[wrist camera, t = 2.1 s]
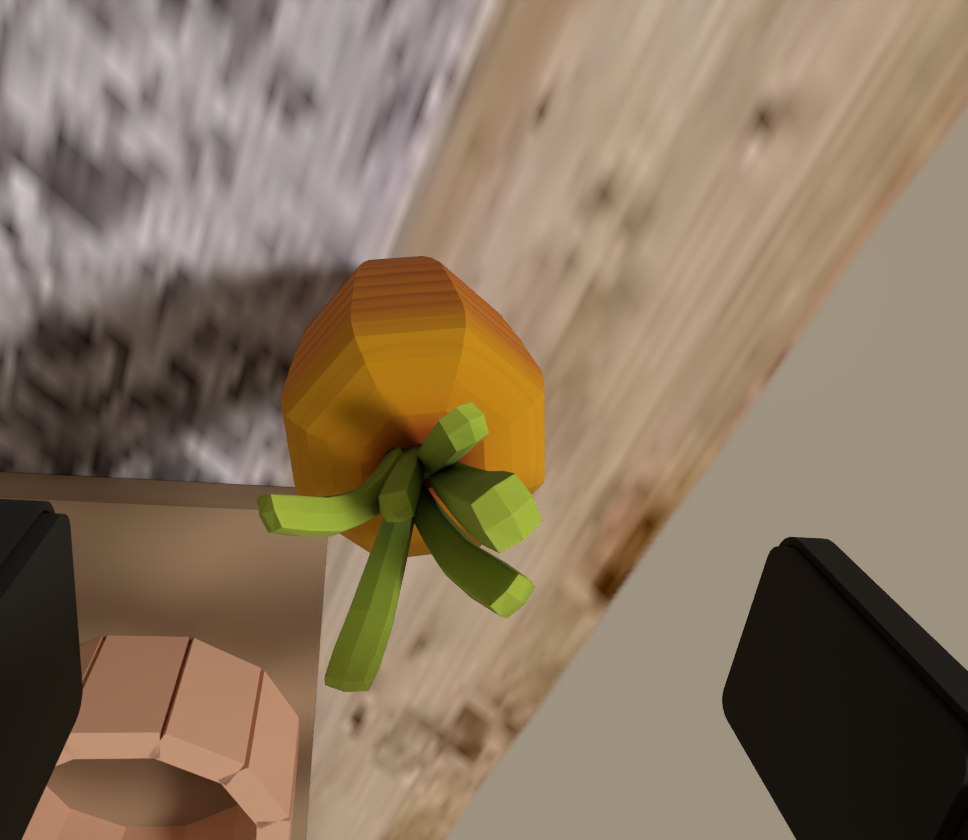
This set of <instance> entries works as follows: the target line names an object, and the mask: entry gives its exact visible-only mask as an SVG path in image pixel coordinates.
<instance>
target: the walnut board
mask: <svg viewBox="0 0 968 840" xmlns="http://www.w3.org/2000/svg"><path fill="white" fill-rule="evenodd" d="M269 494H275V495H296V489H295V488H293V487H274V486H256V485H237V484H218V483H200V482H181V481H162V480H144V479H125V478H106V477H87V476H69V475H50V474H31V473H13V472H0V499H16V500H37V501H49V502H50V503H51V504H52V506H53V508H54V511H55V513H59V514H66V515H67V516H68V518H69V520H70V526H71V539H72V552H73V566H74V579H75V592H76V605H77V618H78V632H79V645H80V646H81V645H83V644H85V643H88V642H90V641H93V640H95V639H97V638H100V637H103V638H104V640H106V638H107V636H167V637H189V644H190V643H191V641H192V640H193V639H194V638H195V639H197V640H200V641H202V642H204V643H206V644H209V645H211V646H213V647H215V648H217V649H220V650H222V651H224V652H226V653H229V654H231V655H233V656H235V657H238V658H240V659H242V660H244V661H246V662H249V663H251V664H253V665H255V666H258V667H260V668H261V670H260V672H263V671H265V672H266V674H267V675H268V676H269V678H270V679H271V680H272V682H273V683H274V684H275V686H276V687H277V689H278V690H279V691H280V693H281V694H282V695H283V697H284V698H285V699H286V701H287V702H288V704H289V705H290V706H291V708H292V709H293V710H294V712H295V713H296V715H297V716H298V717H299V721H300V728H299V745H298V761H297V775H296V785H295V796H294V806H293V817H292V827H291V838H290V840H306V829H307V815H308V801H309V787H310V773H311V760H312V746H313V732H314V718H315V704H316V690H317V677H318V663H319V649H320V635H321V621H322V607H323V594H324V580H325V566H326V552H327V538H328V536H288V535H281V534H274V533H268V532H267V530H266V528H265V526H264V524H263V522H262V520H261V518H260V516H259V510H258V504H257V500H258V498H259V497H260V496H262V495H269ZM47 787H48V788H49V789H50V790H51V791H52V792H53V793H55V794H56V795H57V796H58V797H59V798H60V799H61V800H62V801H63V802H64V803H65V804H66V805H67V806H68V807H69V808H70V809H73V810H76V811H79V812H82V813H85V814H88V815H91V816H94V817H97V818H100V819H103V820H106V821H109V822H112V823H115V824H118V825H121V826H124V827H154V826H187V825H189V824H192V823H194V822H197V821H199V820H202V819H204V818H206V817H209V816H211V815H214V814H216V813H219V812H221V811H223V810H226V809H228V808H231V807H233V806H236V805H238V803H237V802H236V801H235V799H234V798H233V797H232V796H231V795H230V794H229V792H228V791H227V790H226V789H225V788H224V787H223V785H222V784H221V783H218V782H215V781H213V780H210V779H207V778H205V777H202V776H199V775H197V774H194V773H192V772H189V771H186V770H184V769H181V768H178V767H176V766H173V765H170V764H168V763H165V762H162V761H160V760H157V759H154V758H134V759H72V760H70V761H68V762H65V763H63V764H60V765H58V766H56V767H55V768H54V770H53V773H52V775H51V777H50V779H49V781H48V783H47Z"/></svg>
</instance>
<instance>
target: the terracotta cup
mask: <svg viewBox="0 0 968 840" xmlns="http://www.w3.org/2000/svg"><path fill="white" fill-rule="evenodd" d="M80 658H81V671H82V685H83V693H82V702H81V707H80V711H79V715H78V717H77V720H76V722H75V725H74V727H73V729H72V731H71V733H70V735H69V738H68V740H67V742H66V744H65V746H64V749H63V751H62V753H61V755H60V757H59V759H58V762H57V764H56V766H58V765H60V764H63V763H65V762H68V761H70V760H72V759H134V758H154V759H157V760H160V761H162V762H165V763H168V764H170V765H173V766H176V767H178V768H181V769H184V770H186V771H189V772H192V773H194V774H197V775H199V776H202V777H205V778H207V779H210V780H213V781H215V782H218V783H221V784H222V785H223V787H224V788H225V789H226V790H227V791H228V792H229V794H230V795H231V796H232V797H233V798H234V799H235V801H236V802H237V803H238V805H236V806H233V807H231V808H228V809H226V810H223V811H221V812H219V813H216V814H214V815H211V816H209V817H206V818H204V819H202V820H199V821H197V822H194V823H192V824H189V825H187V826H154V827H124V826H121V825H118V824H115V823H112V822H109V821H106V820H103V819H100V818H97V817H94V816H91V815H88V814H85V813H82V812H79V811H76V810H73V809H70V808H69V807H68V806H67V805H66V804H65V803H64V802H63V801H62V800H61V799H60V798H59V797H58V796H57V795H56V794H55V793H53V792H52V791H51V790H50V789H49V788H48V787H47V786H46V788H45V790H44V792H43V794H42V797H41V799H40V801H39V803H38V805H37V807H36V810H35V812H34V814H33V816H32V818H31V821H30V823H29V825H28V827H27V829H26V831H25V834H24V836H23V838H22V840H290V838H291V827H292V817H293V806H294V796H295V785H296V775H297V761H298V745H299V728H300V721H299V717H298V716H297V715H296V713H295V712H294V710H293V709H292V708H291V706H290V705H289V704H288V702H287V701H286V699H285V698H284V697H283V695H282V694H281V693H280V691H279V690H278V689H277V687H276V686H275V684H274V683H273V682H272V680H271V679H270V678H269V676H268V675H267V674H266V672H265V671H263V672H260V670H261V668H260V667H258V666H255V665H253V664H251V663H249V662H246V661H244V660H242V659H240V658H238V657H235V656H233V655H231V654H229V653H226V652H224V651H222V650H220V649H217V648H215V647H213V646H211V645H209V644H206V643H204V642H202V641H200V640H197V639H195V638H194V639H193V640H192V641H191V643H190V644H189V637H167V636H107V638H106V640H104V638H103V637H100V638H97V639H95V640H93V641H90V642H88V643H85V644H83V645H81V646H80ZM56 766H55V767H56Z"/></svg>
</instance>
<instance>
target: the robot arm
mask: <svg viewBox="0 0 968 840" xmlns="http://www.w3.org/2000/svg"><path fill="white" fill-rule="evenodd" d="M82 693H83V685H82V671H81V658H80V645H79V632H78V618H77V605H76V592H75V579H74V566H73V552H72V539H71V526H70V520H69V518H68V516H67V515H66V514H59V513H55V511H54V508H53V506H52V504H51V503H50V502H49V501H37V500H16V499H0V840H22V838H23V836H24V834H25V831H26V829H27V827H28V825H29V823H30V821H31V818H32V816H33V814H34V812H35V810H36V807H37V805H38V803H39V801H40V799H41V797H42V794H43V792H44V790H45V788H46V786H47V783H48V781H49V779H50V777H51V775H52V773H53V770H54V768H55V766H56V764H57V762H58V759H59V757H60V755H61V753H62V751H63V749H64V746H65V744H66V742H67V740H68V738H69V735H70V733H71V731H72V729H73V727H74V725H75V722H76V720H77V717H78V715H79V711H80V707H81V702H82ZM722 704H723V710H724V714H725V716H726V719H727V721H728V722H729V724H730V726H731V728H732V729H733V731H734V732H735V734H736V736H737V738H738V740H739V741H740V743H741V745H742V747H743V748H744V750H745V752H746V754H747V755H748V757H749V758H750V760H751V762H752V764H753V765H754V767H755V769H756V771H757V772H758V774H759V776H760V778H761V779H762V781H763V783H764V785H765V786H766V788H767V790H768V791H769V793H770V795H771V797H772V798H773V800H774V802H775V803H776V805H777V807H778V809H779V810H780V812H781V814H782V816H783V817H784V819H785V821H786V823H787V824H788V826H789V828H790V829H791V831H792V833H793V835H794V836H795V838H796V840H968V671H967V670H966V669H965V668H964V667H963V666H962V665H961V664H960V663H959V662H958V661H956V660H955V659H954V658H953V657H952V656H951V655H950V654H949V653H948V652H947V651H946V650H945V649H944V648H943V647H942V646H941V645H940V644H939V643H938V642H937V641H936V640H935V639H933V637H931V636H930V635H929V634H928V633H927V632H926V631H925V630H924V629H923V628H922V627H921V626H920V625H919V624H918V623H917V622H916V621H915V620H914V619H913V618H912V617H910V616H909V614H907V613H906V612H905V611H904V610H903V609H902V608H901V607H900V606H899V605H898V604H897V603H896V602H895V601H894V600H893V599H892V598H891V597H890V596H889V595H887V593H886V592H884V591H883V590H882V589H881V588H880V587H879V586H878V585H877V584H876V583H875V582H874V581H873V580H872V579H871V578H870V577H869V576H868V575H867V574H866V573H865V572H864V571H863V570H861V569H860V568H859V567H858V566H857V565H856V564H855V563H854V562H853V561H852V560H851V559H850V558H849V557H848V556H847V555H846V554H845V553H844V552H843V551H841V549H839V547H837V546H836V545H835V544H834V543H833V542H832V541H830V540H828V539H822V538H801V537H800V538H799V537H789V538H786V539H784V540H783V541H782V542H781V543H780V545H779V546H777V547H774V548H773V549H772V550H771V551H770V553H769V555H768V557H767V560H766V563H765V566H764V569H763V572H762V575H761V578H760V581H759V584H758V588H757V590H756V594H755V596H754V600H753V602H752V606H751V609H750V612H749V615H748V618H747V621H746V624H745V627H744V630H743V633H742V636H741V639H740V642H739V645H738V648H737V651H736V654H735V657H734V660H733V663H732V666H731V669H730V672H729V675H728V678H727V681H726V684H725V687H724V691H723V696H722Z"/></svg>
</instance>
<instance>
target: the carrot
mask: <svg viewBox="0 0 968 840" xmlns="http://www.w3.org/2000/svg"><path fill="white" fill-rule="evenodd" d="M281 406H282V412H283V418H284V424H285V430H286V436H287V442H288V448H289V454H290V459H291V465H292V471H293V477H294V483H295V489H296V495H275V494H269V495H262V496H260V497H259V498H258V500H257V504H258V510H259V516H260V518H261V520H262V522H263V524H264V526H265V528H266V530H267V532H268V533H274V534H281V535H288V536H333V535H336V534H338V533H340V534H341V535H343V536H345V537H346V538H348V539H349V540H351V541H352V542H354V543H356V544H357V545H359V546H360V547H362V548H363V549H365V550H366V551H368V552H370V555H369V558H368V561H367V564H366V566H365V569H364V572H363V574H362V577H361V580H360V582H359V585H358V588H357V591H356V593H355V596H354V599H353V601H352V604H351V607H350V610H349V612H348V615H347V617H346V620H345V622H344V625H343V627H342V630H341V632H340V635H339V637H338V640H337V642H336V645H335V647H334V650H333V653H332V656H331V659H330V662H329V665H328V668H327V671H326V674H325V685H327V686H329V687H332V688H335V689H338V690H341V691H344V692H355V691H369V689H370V687H371V685H372V683H373V680H374V678H375V676H376V674H377V672H378V670H379V667H380V664H381V661H382V658H383V655H384V652H385V649H386V646H387V643H388V639H389V636H390V633H391V630H392V626H393V622H394V617H395V612H396V608H397V603H398V599H399V594H400V589H401V585H402V580H403V575H404V571H405V566H406V562H407V557H411V556H420V555H428V554H432V555H433V557H434V558H435V560H436V562H437V563H438V565H439V566H440V568H441V569H442V570H443V572H444V573H445V574H446V576H447V577H449V578H450V579H451V580H452V581H453V582H454V583H455V584H456V585H457V586H459V587H460V588H461V589H462V590H463V591H464V592H465V593H466V594H467V595H469V596H470V597H471V598H472V599H474V600H475V601H477V602H478V603H480V604H482V605H483V606H485V607H486V608H488V609H490V610H491V611H493V612H494V613H496V614H498V615H499V616H502V617H505V618H508V617H510V616H511V615H512V614H513V613H515V612H516V611H517V610H518V609H520V608H521V607H522V606H523V605H524V604H525V603H526V601H527V600H528V598H529V596H530V595H531V593H532V591H533V590H534V588H535V586H534V585H533V583H532V581H531V580H529V579H528V578H527V577H525V576H524V575H522V574H521V573H520V572H518V571H517V570H515V569H514V568H513V567H511V566H510V565H508V564H507V563H505V562H504V561H502V560H500V559H498V558H497V557H495V556H493V555H492V554H490V553H488V552H486V551H485V550H483V549H481V548H480V546H481V545H484V546H486V547H488V548H490V549H492V550H494V551H496V552H498V553H500V552H502V551H504V550H506V549H508V548H510V547H512V546H514V545H516V544H517V543H519V542H521V541H523V540H525V539H526V538H527V537H528V536H529V535H530V533H531V532H532V531H533V530H534V529H535V528H536V527H537V526H538V525H539V524H540V523H541V522H542V518H541V516H540V513H539V511H538V508H537V506H536V503H535V500H534V498H533V496H532V494H533V493H534V492H535V491H536V490H537V489H538V488H539V487H540V486H541V485H542V484H543V483H544V476H545V418H544V378H543V375H542V371H541V370H540V368H539V367H538V365H537V364H536V362H535V361H534V359H533V358H532V356H531V355H530V353H529V352H528V350H527V349H526V348H525V346H524V345H523V343H522V342H521V340H520V339H519V337H518V336H517V335H516V334H515V332H514V331H513V330H512V329H511V327H510V326H509V325H508V324H507V322H506V321H505V320H504V319H503V317H502V316H501V315H500V314H499V313H498V312H497V311H496V310H495V309H493V308H492V307H491V306H490V305H489V304H488V303H486V302H485V301H484V300H483V299H482V298H481V297H480V296H478V295H477V294H476V293H475V292H474V291H473V290H471V289H470V288H469V287H468V286H467V285H466V284H465V283H463V282H462V281H461V280H460V279H459V278H458V277H456V276H455V275H454V274H453V273H452V272H451V271H450V270H448V269H447V268H446V267H445V266H444V265H443V264H441V263H440V262H438V261H436V260H434V259H433V258H430V257H424V256H418V257H405V258H391V259H377V260H368V261H366V262H363V263H362V264H361V265H360V266H359V267H358V268H357V269H356V271H355V272H354V273H353V274H352V275H351V277H350V278H349V279H348V280H347V281H346V282H345V284H344V285H343V286H342V287H341V288H340V290H339V291H338V292H337V293H336V294H335V295H334V297H333V298H332V299H331V300H330V301H329V303H328V304H327V305H326V306H325V307H324V309H323V310H322V311H321V312H320V313H319V314H318V316H317V317H316V318H315V319H314V320H313V322H312V323H311V324H310V325H309V326H308V328H307V329H306V330H305V332H304V334H303V337H302V339H301V341H300V344H299V346H298V348H297V351H296V353H295V355H294V358H293V361H292V364H291V367H290V370H289V373H288V376H287V379H286V382H285V385H284V388H283V391H282V394H281Z"/></svg>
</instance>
